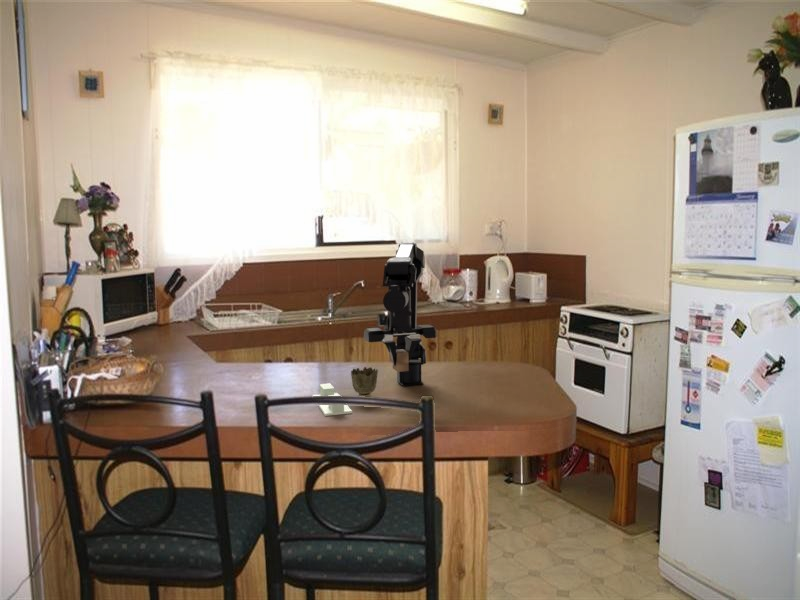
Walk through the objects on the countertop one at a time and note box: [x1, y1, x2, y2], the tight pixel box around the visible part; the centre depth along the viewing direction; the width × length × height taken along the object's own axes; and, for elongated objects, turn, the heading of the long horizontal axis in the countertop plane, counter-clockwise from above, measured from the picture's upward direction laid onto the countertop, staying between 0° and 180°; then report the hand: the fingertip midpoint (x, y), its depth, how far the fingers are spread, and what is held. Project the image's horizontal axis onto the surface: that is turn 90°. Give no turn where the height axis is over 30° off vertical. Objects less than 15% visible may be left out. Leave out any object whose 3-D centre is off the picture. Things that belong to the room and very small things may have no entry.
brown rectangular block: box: [392, 349, 409, 373], centre depth 169 cm, size 3×4×5 cm, turn 18°
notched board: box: [312, 382, 353, 417], centre depth 170 cm, size 7×18×4 cm, turn 18°
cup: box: [350, 366, 379, 397], centre depth 175 cm, size 8×7×8 cm
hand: (400, 364), depth 169 cm, fingers closed on brown rectangular block, 3 cm apart
